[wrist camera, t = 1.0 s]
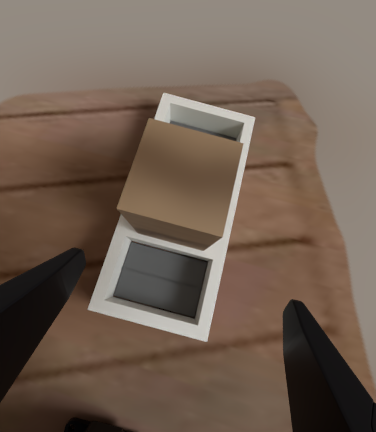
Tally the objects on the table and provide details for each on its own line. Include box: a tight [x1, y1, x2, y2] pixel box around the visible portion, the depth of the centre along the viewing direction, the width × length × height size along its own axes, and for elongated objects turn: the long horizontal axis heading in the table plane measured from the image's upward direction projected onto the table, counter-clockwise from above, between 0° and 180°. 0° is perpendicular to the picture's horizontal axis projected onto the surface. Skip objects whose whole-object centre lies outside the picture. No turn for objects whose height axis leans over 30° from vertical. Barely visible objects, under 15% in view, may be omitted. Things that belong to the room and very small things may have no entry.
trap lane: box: [88, 93, 255, 342], centre depth 23 cm, size 22×10×3 cm, turn 165°
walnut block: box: [116, 118, 244, 251], centre depth 17 cm, size 6×6×8 cm
